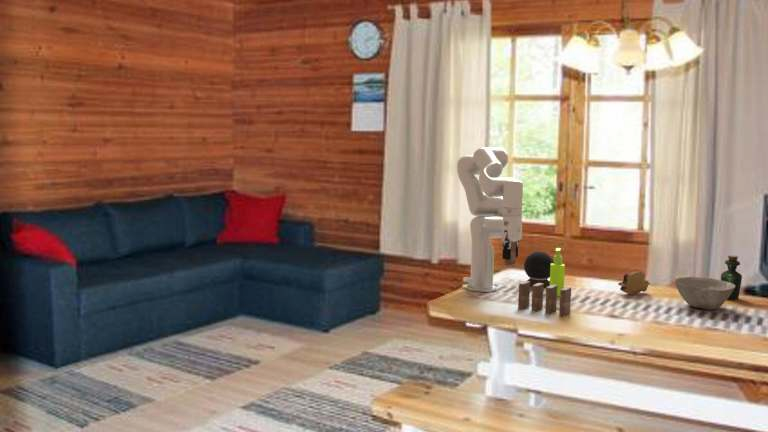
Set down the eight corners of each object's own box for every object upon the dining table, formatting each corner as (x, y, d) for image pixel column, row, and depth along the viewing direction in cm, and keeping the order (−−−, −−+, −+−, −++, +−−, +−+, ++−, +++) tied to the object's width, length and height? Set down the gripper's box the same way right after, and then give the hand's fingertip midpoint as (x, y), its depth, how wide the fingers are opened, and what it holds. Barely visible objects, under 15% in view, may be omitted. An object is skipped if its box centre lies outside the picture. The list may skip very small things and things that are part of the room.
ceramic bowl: (703, 316, 281) (705, 290, 280) (659, 302, 303) (661, 278, 301) (747, 312, 290) (749, 287, 288) (701, 298, 311) (703, 275, 310)
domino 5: (559, 315, 279) (560, 289, 278) (564, 312, 284) (566, 286, 283) (564, 316, 278) (565, 290, 277) (570, 313, 283) (571, 287, 282)
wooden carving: (640, 291, 323) (642, 268, 322) (649, 293, 320) (651, 270, 318) (615, 295, 314) (616, 271, 313) (624, 297, 311) (625, 273, 309)
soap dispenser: (548, 296, 309) (550, 248, 307) (549, 293, 316) (551, 246, 313) (562, 297, 308) (565, 249, 305) (564, 294, 314) (566, 247, 312)
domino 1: (504, 265, 290) (505, 239, 288) (510, 262, 294) (511, 237, 293) (509, 265, 288) (510, 240, 287) (515, 263, 293) (516, 238, 292)
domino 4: (545, 313, 282) (546, 287, 281) (551, 310, 287) (552, 284, 286) (550, 314, 281) (551, 288, 280) (556, 311, 286) (557, 285, 285)
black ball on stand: (559, 287, 327) (560, 253, 325) (531, 288, 324) (532, 254, 322) (544, 281, 340) (546, 248, 338) (518, 282, 336) (519, 249, 335)
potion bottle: (729, 295, 318) (733, 253, 316) (744, 299, 310) (748, 257, 308) (714, 296, 315) (717, 254, 313) (729, 301, 308) (732, 258, 305)
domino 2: (518, 308, 288) (519, 283, 287) (524, 305, 293) (525, 280, 292) (522, 309, 287) (524, 284, 286) (529, 306, 292) (530, 281, 291)
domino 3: (531, 311, 285) (532, 285, 284) (537, 308, 290) (538, 282, 289) (536, 311, 284) (537, 286, 283) (542, 308, 289) (543, 283, 288)
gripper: (511, 214, 280) (509, 262, 282) (529, 210, 294) (527, 256, 296) (493, 213, 284) (491, 260, 286) (512, 209, 298) (510, 253, 300)
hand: (510, 257), depth 291 cm, fingers closed on domino 1, 5 cm apart
